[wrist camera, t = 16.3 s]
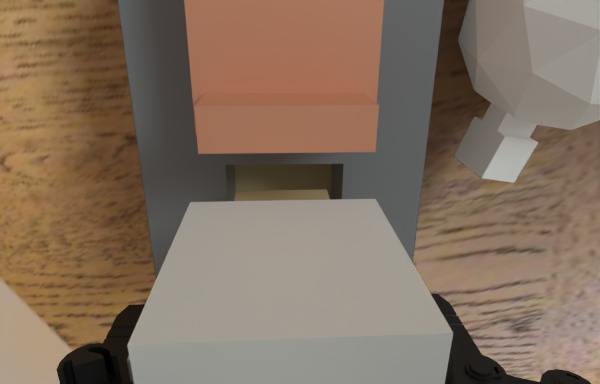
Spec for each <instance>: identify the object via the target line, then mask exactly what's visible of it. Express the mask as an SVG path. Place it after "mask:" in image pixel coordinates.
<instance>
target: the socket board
mask: <svg viewBox="0 0 600 384" xmlns="http://www.w3.org/2000/svg"><path fill="white" fill-rule="evenodd" d="M443 5H444V0H384V8H383V22H382V36H381V50H380V64H379V78H378V92H377V104H378V105H379V113H378V127H377V140H376V152H332V153H227V154H198V145H197V135H196V133H195V121H194V110H193V98H192V86H191V74H190V63H189V51H188V39H187V27H186V16H185V4H184V0H118V6H119V13H120V20H121V28H122V35H123V42H124V50H125V57H126V64H127V71H128V79H129V86H130V93H131V101H132V108H133V115H134V122H135V130H136V137H137V144H138V151H139V159H140V166H141V173H142V181H143V188H144V195H145V202H146V210H147V217H148V224H149V232H150V239H151V246H152V253H153V261H154V268H155V275H156V279H157V276H158V274H159V272H160V270H161V267H162V265H163V263H164V261H165V258H166V256H167V254H168V251H169V249H170V247H171V245H172V242H173V240H174V238H175V236H176V233H177V231H178V229H179V226H180V224H181V222H182V220H183V217H184V215H185V213H186V211H187V208H188V206H189V204H190V202H222V201H234V199H235V194H236V191H268V190H327V192H328V195H329V198H330V200H333V199H376V201H377V202H378V204H379V206H380V207H381V209H382V211H383V213H384V214H385V216H386V218H387V219H388V221H389V223H390V225H391V226H392V228H393V230H394V232H395V233H396V235H397V237H398V238H399V240H400V242H401V244H402V245H403V247H404V249H405V251H406V252H407V254H408V256H409V257H410V259H411V261H412V263H413V256H414V248H415V240H416V231H417V223H418V214H419V206H420V198H421V189H422V181H423V172H424V164H425V156H426V147H427V139H428V130H429V122H430V114H431V105H432V97H433V89H434V80H435V72H436V63H437V55H438V47H439V38H440V30H441V21H442V13H443Z"/></svg>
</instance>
